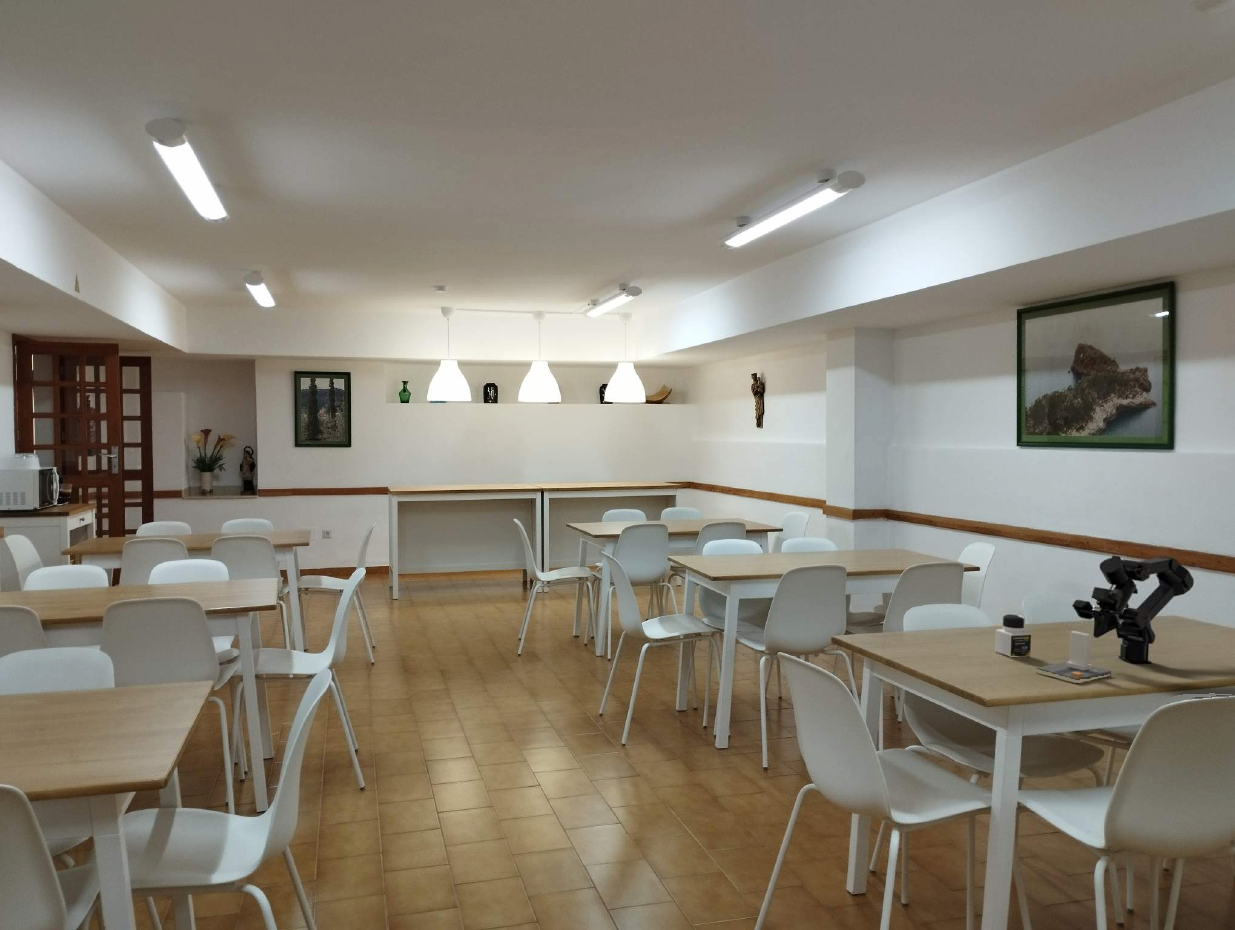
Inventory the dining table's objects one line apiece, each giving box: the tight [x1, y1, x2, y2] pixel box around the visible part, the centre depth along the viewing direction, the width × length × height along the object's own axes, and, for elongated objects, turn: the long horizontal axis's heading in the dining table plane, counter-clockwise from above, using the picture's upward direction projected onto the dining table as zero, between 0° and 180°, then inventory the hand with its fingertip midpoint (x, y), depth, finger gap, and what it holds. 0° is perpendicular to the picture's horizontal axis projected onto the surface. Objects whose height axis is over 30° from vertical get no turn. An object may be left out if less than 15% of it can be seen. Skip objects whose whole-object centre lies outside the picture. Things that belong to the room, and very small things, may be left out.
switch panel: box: [1035, 660, 1112, 680], centre depth 250 cm, size 16×12×2 cm
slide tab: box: [1065, 630, 1093, 671], centre depth 251 cm, size 4×5×10 cm
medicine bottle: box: [994, 613, 1032, 657], centre depth 271 cm, size 7×7×12 cm
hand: (1095, 636), depth 254 cm, fingers closed
